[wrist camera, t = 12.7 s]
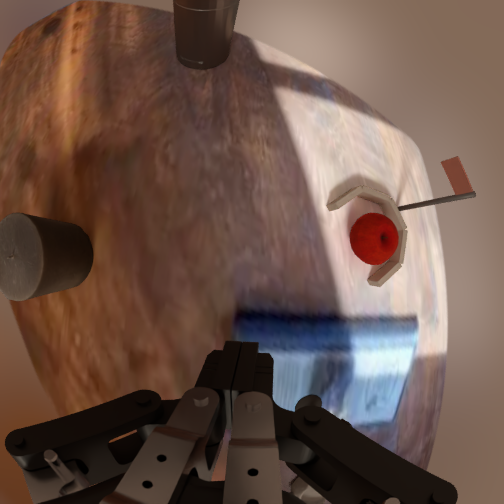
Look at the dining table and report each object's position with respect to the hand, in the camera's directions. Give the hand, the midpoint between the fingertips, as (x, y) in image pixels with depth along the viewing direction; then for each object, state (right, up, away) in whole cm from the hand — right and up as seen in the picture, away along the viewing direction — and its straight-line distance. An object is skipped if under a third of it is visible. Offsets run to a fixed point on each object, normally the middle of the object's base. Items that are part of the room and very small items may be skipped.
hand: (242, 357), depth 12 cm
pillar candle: (-27, +4, +22) cm, 35 cm away
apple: (+18, +7, +30) cm, 36 cm away
